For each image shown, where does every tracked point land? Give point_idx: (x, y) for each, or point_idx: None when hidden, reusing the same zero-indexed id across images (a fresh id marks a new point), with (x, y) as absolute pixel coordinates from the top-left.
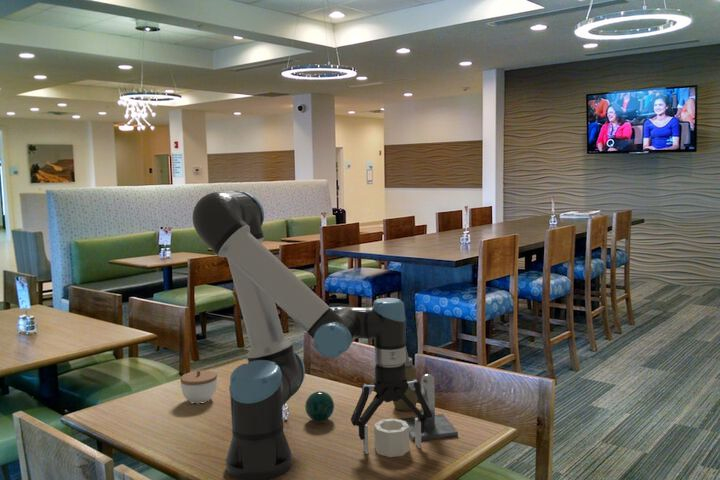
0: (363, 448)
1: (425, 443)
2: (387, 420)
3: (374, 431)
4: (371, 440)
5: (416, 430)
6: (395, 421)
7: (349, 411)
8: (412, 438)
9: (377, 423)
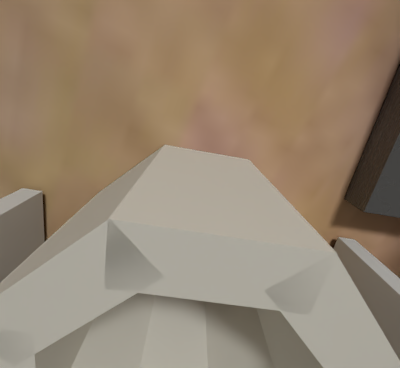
0: (19, 193)
1: (386, 245)
2: (198, 277)
3: (30, 255)
4: (108, 73)
5: (397, 346)
6: (294, 328)
7: None
8: (356, 206)
9: (9, 316)
